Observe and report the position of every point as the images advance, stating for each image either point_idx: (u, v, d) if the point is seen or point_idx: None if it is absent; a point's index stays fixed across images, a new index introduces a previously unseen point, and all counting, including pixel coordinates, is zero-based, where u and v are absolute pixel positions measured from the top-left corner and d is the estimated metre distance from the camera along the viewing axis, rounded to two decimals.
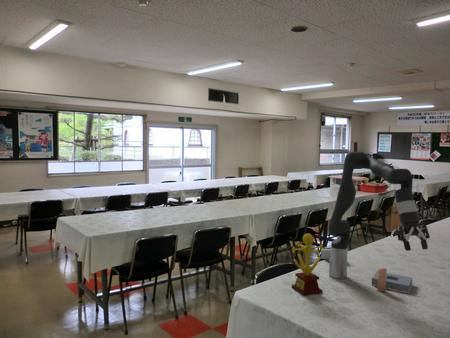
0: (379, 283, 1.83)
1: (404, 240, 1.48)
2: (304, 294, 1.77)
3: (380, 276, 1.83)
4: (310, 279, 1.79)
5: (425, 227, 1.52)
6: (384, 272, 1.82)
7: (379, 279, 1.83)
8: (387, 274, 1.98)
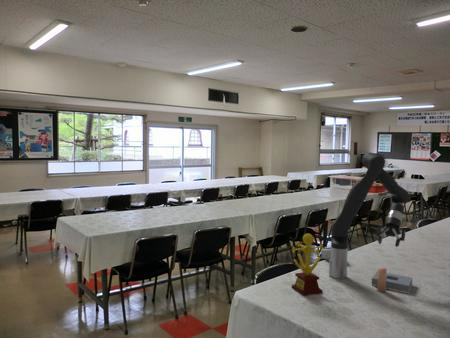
0: (379, 283, 1.83)
1: (401, 240, 1.91)
2: (304, 294, 1.77)
3: (380, 276, 1.83)
4: (310, 279, 1.79)
5: None
6: (384, 272, 1.82)
7: (379, 279, 1.83)
8: (387, 274, 1.98)
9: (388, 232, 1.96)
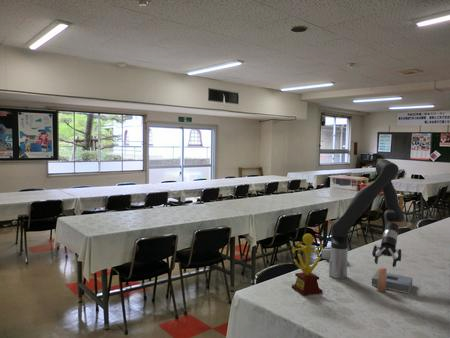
0: (379, 283, 1.83)
1: (397, 260, 1.88)
2: (304, 294, 1.77)
3: (380, 276, 1.83)
4: (310, 279, 1.79)
5: None
6: (384, 272, 1.82)
7: (379, 279, 1.83)
8: (387, 274, 1.98)
9: (384, 252, 1.93)
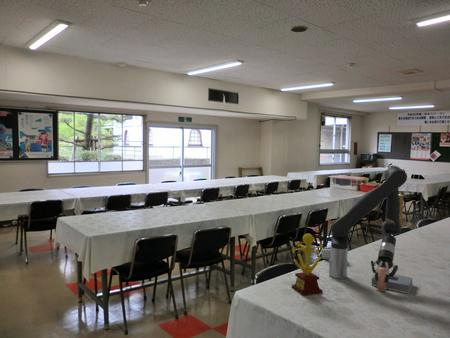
0: (379, 283, 1.83)
1: None
2: (304, 294, 1.77)
3: (380, 276, 1.83)
4: (310, 279, 1.79)
5: None
6: (384, 272, 1.82)
7: (379, 279, 1.83)
8: None
9: (383, 265, 1.87)
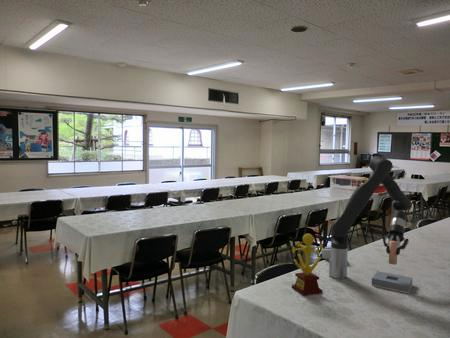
0: (390, 256, 1.91)
1: (401, 248, 1.91)
2: (304, 294, 1.77)
3: (391, 249, 1.90)
4: (310, 279, 1.79)
5: None
6: (395, 245, 1.90)
7: (390, 252, 1.91)
8: (387, 274, 1.98)
9: (394, 239, 1.94)
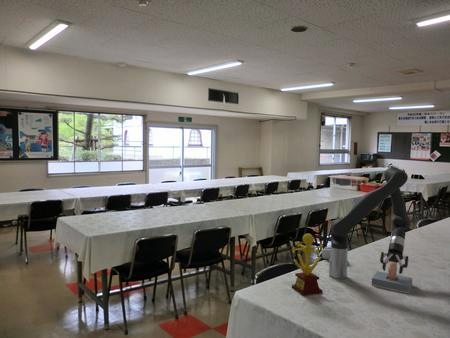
0: (390, 277, 1.91)
1: (404, 267, 1.91)
2: (304, 294, 1.77)
3: (391, 270, 1.91)
4: (310, 279, 1.79)
5: None
6: (394, 266, 1.90)
7: (390, 273, 1.91)
8: (387, 274, 1.98)
9: (392, 258, 1.95)
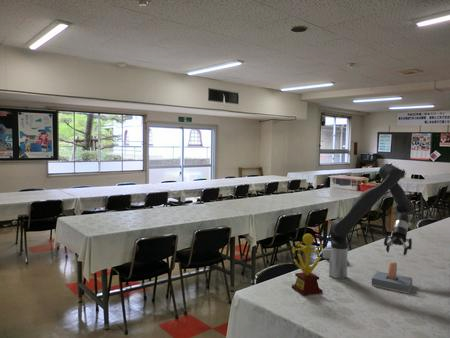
0: (390, 277, 1.91)
1: None
2: (304, 294, 1.77)
3: (391, 270, 1.91)
4: (310, 279, 1.79)
5: None
6: (395, 266, 1.90)
7: (390, 273, 1.91)
8: (387, 274, 1.98)
9: (395, 241, 2.03)
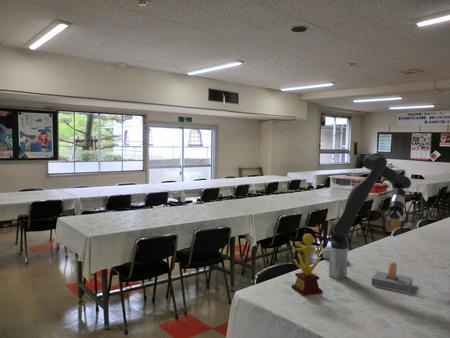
0: (390, 277, 1.91)
1: (405, 222, 1.99)
2: (304, 294, 1.77)
3: (390, 270, 1.91)
4: (310, 279, 1.79)
5: None
6: (394, 266, 1.90)
7: (389, 273, 1.91)
8: (387, 274, 1.98)
9: (392, 215, 2.03)
